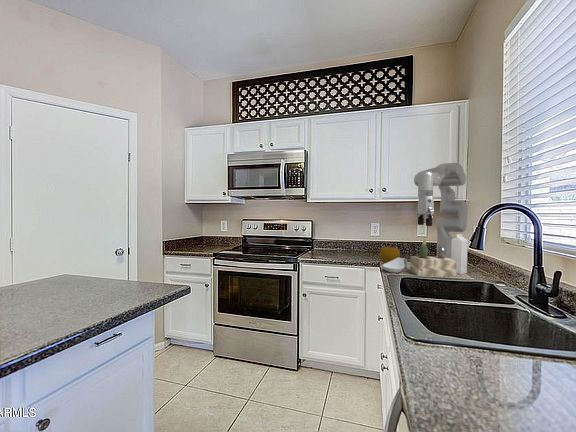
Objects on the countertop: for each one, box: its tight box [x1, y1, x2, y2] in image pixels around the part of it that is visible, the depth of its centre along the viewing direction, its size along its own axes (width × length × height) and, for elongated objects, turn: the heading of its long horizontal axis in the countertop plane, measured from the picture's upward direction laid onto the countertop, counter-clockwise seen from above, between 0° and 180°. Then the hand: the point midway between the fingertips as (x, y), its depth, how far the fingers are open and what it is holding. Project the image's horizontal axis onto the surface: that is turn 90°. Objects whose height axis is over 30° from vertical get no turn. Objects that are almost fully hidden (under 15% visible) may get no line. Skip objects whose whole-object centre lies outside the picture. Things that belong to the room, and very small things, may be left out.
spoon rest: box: [381, 256, 410, 274], centre depth 175 cm, size 24×12×7 cm, turn 139°
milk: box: [451, 233, 469, 275], centre depth 172 cm, size 6×6×22 cm
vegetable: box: [418, 237, 429, 259], centre depth 166 cm, size 4×4×20 cm
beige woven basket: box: [409, 247, 457, 277], centre depth 166 cm, size 20×11×15 cm, turn 90°
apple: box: [378, 246, 401, 264], centre depth 197 cm, size 13×13×11 cm
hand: (424, 225), depth 166 cm, fingers open, 9 cm apart
